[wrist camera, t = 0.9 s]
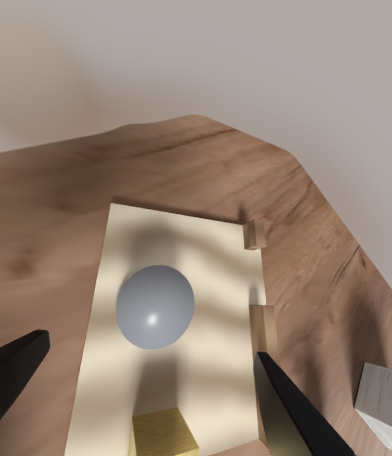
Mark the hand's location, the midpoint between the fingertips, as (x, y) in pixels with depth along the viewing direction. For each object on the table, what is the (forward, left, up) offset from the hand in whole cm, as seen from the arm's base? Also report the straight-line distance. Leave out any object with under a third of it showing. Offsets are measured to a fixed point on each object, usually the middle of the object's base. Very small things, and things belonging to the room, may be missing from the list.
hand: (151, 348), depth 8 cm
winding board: (0, -6, -12) cm, 14 cm away
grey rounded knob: (+1, -1, -11) cm, 11 cm away
